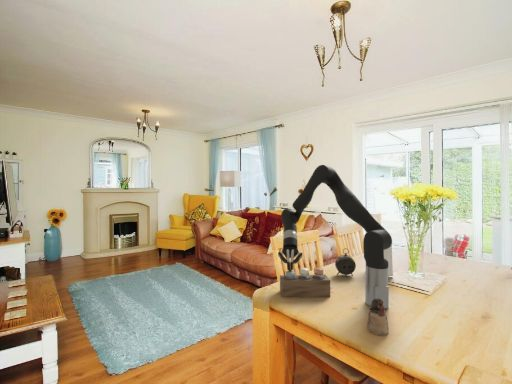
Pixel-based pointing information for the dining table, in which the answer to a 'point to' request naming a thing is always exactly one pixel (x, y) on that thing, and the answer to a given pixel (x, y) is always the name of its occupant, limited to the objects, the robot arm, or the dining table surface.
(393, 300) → the dining table surface
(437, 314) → the dining table surface
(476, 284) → the dining table surface
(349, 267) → the alarm clock
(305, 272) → the cream button
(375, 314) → the figurine
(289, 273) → the slate button
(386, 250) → the milk
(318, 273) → the terracotta button
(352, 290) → the dining table surface
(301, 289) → the button console
